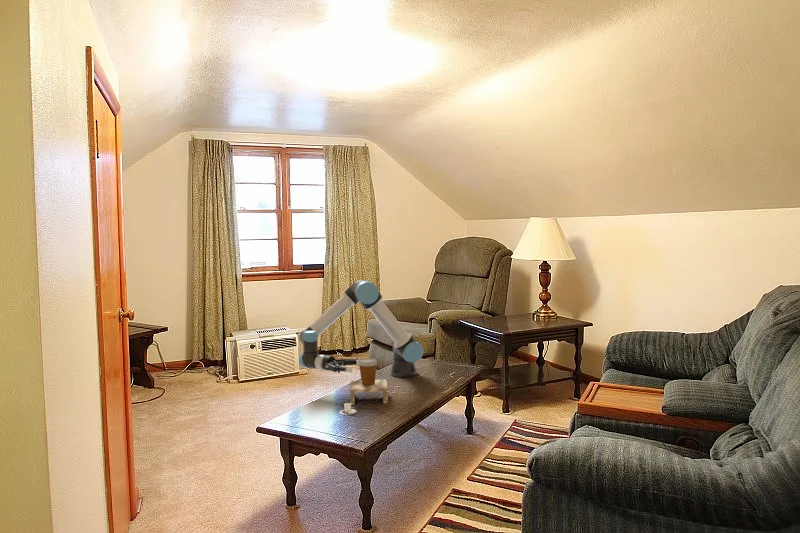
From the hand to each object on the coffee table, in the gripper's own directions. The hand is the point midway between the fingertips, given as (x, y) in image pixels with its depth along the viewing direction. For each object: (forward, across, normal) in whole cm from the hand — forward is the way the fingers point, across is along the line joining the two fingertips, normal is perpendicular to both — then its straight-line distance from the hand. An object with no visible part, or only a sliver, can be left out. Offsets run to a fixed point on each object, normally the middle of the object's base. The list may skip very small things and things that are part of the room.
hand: (359, 366), depth 281 cm
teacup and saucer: (+7, +23, -17) cm, 30 cm away
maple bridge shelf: (+5, 0, -16) cm, 17 cm away
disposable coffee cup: (+5, 0, -9) cm, 10 cm away
